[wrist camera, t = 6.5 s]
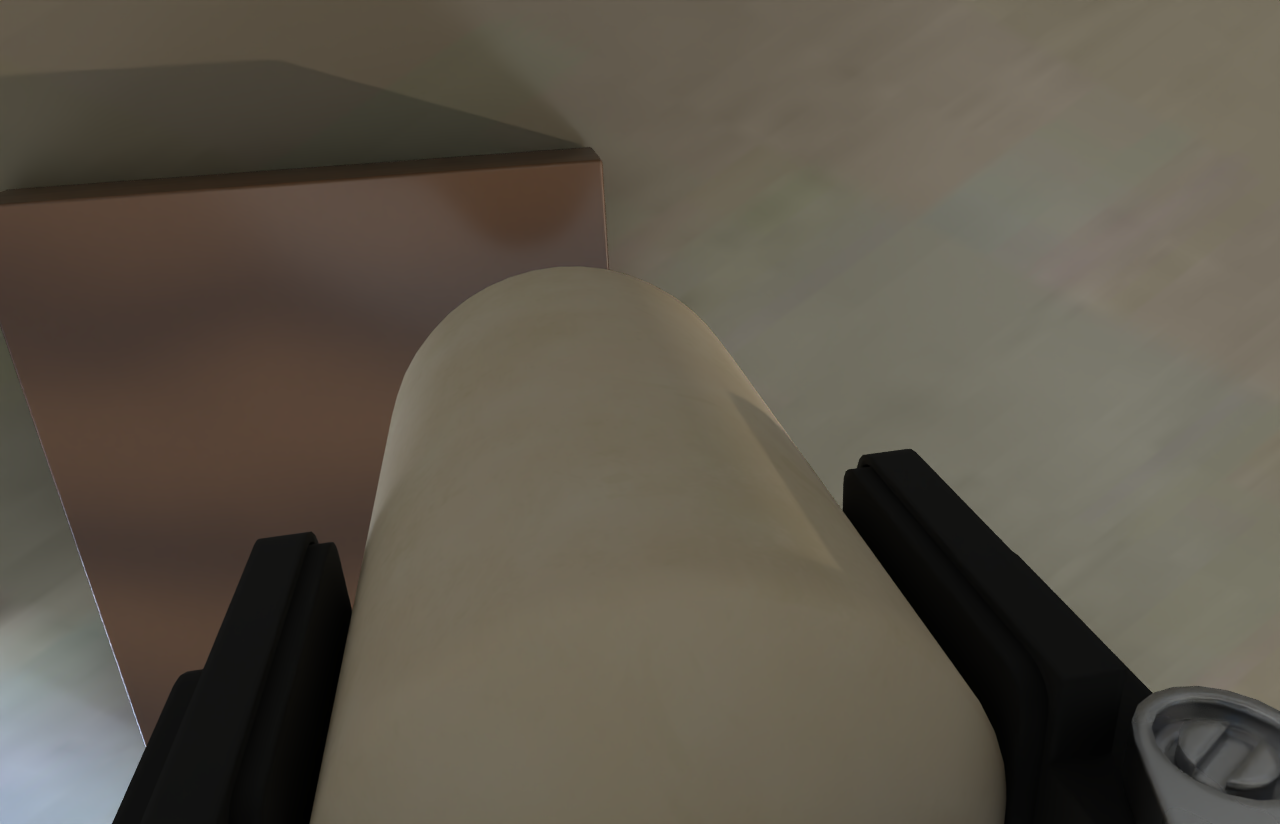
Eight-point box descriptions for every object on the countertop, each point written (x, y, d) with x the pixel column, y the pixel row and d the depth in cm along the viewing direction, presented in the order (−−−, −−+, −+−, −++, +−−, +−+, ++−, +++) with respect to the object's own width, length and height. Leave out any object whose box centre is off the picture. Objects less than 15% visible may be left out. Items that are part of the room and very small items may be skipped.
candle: (803, 432, 16) (1254, 1026, 7) (558, 631, 16) (658, 1403, 7) (586, 182, 13) (813, 559, 4) (315, 427, 14) (34, 1173, 5)
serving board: (4, 189, 25) (-43, 207, 23) (592, 146, 27) (602, 159, 25) (186, 754, 33) (165, 809, 31) (629, 691, 35) (639, 738, 33)
